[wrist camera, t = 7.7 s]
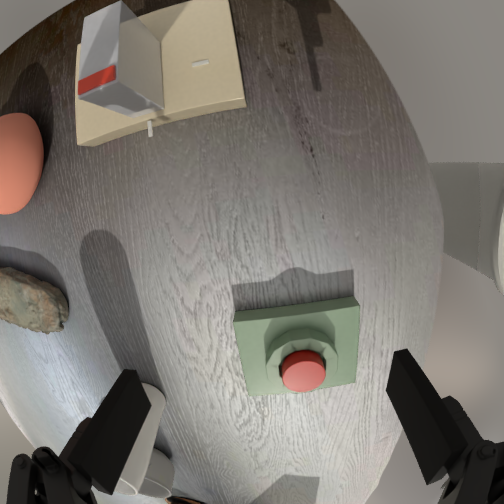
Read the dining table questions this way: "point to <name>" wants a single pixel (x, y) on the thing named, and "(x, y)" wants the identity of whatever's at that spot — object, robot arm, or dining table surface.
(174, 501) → the skull
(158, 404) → the drinking glass
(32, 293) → the long grey stone
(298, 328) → the button box
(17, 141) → the sugar bowl
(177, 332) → the dining table surface
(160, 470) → the teacup
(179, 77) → the base
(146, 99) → the tap handle
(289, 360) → the button
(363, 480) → the dining table surface
